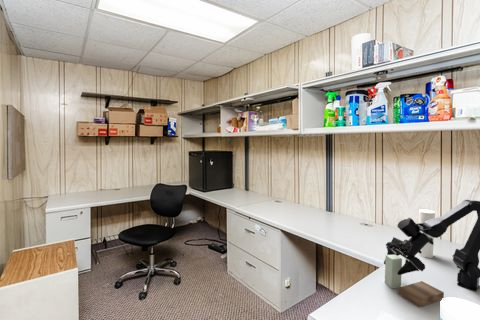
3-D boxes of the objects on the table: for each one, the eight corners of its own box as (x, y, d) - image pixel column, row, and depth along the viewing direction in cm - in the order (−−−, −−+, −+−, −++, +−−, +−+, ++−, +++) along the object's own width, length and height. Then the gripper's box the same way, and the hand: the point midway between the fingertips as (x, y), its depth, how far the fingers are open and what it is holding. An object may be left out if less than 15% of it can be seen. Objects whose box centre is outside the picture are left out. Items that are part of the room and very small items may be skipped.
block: (394, 281, 120) (395, 254, 119) (400, 287, 115) (401, 259, 114) (384, 282, 119) (385, 254, 118) (391, 288, 115) (392, 259, 114)
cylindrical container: (427, 258, 142) (429, 213, 140) (414, 253, 148) (416, 210, 146) (435, 256, 145) (438, 212, 143) (422, 251, 151) (424, 208, 149)
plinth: (421, 287, 115) (421, 281, 115) (443, 299, 106) (443, 292, 106) (398, 294, 110) (398, 287, 110) (419, 307, 102) (419, 299, 101)
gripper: (390, 225, 125) (367, 248, 125) (420, 240, 106) (393, 267, 106) (404, 240, 126) (382, 263, 126) (437, 257, 108) (410, 285, 108)
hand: (391, 268), depth 117 cm, fingers open, 9 cm apart
